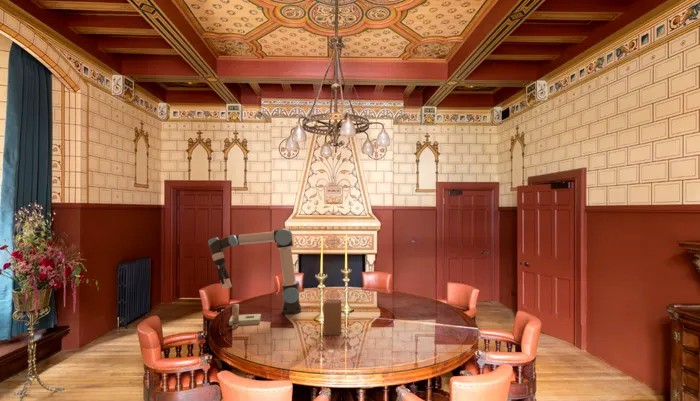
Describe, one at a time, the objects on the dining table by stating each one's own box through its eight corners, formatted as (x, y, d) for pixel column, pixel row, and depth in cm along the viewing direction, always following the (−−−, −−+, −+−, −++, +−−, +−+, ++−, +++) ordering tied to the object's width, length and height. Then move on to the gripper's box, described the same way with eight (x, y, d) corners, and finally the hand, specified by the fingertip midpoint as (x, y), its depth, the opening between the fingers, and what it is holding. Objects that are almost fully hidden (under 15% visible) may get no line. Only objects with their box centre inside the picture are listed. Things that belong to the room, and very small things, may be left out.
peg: (239, 326, 235) (239, 303, 236) (238, 328, 231) (238, 305, 232) (232, 326, 235) (232, 304, 235) (231, 328, 231) (231, 305, 231)
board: (260, 317, 254) (260, 313, 254) (259, 323, 241) (259, 319, 241) (232, 319, 251) (232, 315, 251) (228, 325, 237) (228, 321, 237)
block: (341, 330, 226) (341, 299, 226) (339, 336, 216) (339, 303, 216) (326, 330, 227) (326, 299, 227) (323, 335, 217) (323, 302, 217)
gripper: (218, 261, 262) (226, 288, 259) (208, 260, 238) (217, 291, 235) (228, 257, 264) (236, 285, 261) (219, 257, 239) (228, 287, 236)
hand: (227, 288), depth 248 cm, fingers open, 13 cm apart
